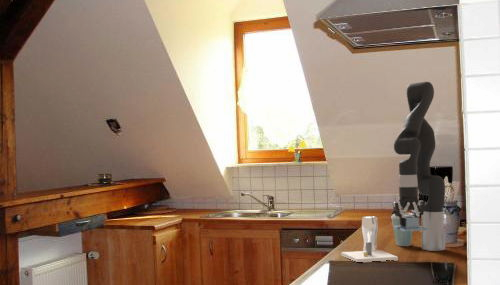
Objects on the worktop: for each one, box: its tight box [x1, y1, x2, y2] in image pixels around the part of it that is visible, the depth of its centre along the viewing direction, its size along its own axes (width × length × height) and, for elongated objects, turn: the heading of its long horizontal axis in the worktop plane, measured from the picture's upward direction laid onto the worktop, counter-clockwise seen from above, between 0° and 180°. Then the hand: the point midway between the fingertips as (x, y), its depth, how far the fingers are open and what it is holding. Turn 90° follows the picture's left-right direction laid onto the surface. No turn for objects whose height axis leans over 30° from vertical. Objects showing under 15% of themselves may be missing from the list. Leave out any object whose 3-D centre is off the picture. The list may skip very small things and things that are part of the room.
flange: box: [392, 215, 427, 232], centre depth 237 cm, size 10×10×5 cm
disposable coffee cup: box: [390, 212, 414, 247], centre depth 268 cm, size 11×11×15 cm
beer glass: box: [361, 215, 379, 251], centre depth 254 cm, size 7×7×15 cm
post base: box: [340, 242, 399, 263], centre depth 237 cm, size 18×16×6 cm
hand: (409, 225), depth 237 cm, fingers closed on flange, 5 cm apart
